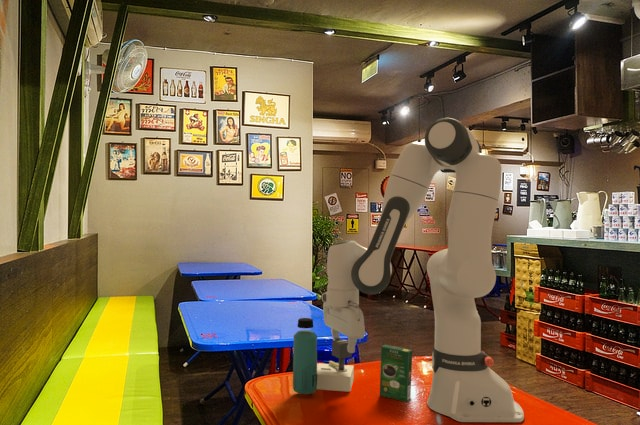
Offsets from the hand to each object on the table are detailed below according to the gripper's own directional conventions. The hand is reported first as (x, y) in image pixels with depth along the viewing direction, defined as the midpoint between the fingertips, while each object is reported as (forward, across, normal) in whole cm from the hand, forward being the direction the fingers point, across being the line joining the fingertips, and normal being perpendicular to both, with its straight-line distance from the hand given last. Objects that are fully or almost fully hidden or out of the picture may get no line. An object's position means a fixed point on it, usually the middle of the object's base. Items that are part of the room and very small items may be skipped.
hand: (343, 348), depth 133 cm
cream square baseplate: (+10, +2, +3) cm, 11 cm away
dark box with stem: (+6, +2, +1) cm, 7 cm away
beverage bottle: (+10, -4, +13) cm, 17 cm away
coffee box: (+11, -13, -9) cm, 19 cm away
